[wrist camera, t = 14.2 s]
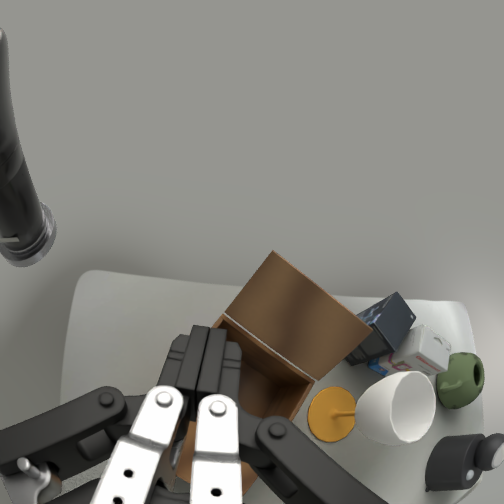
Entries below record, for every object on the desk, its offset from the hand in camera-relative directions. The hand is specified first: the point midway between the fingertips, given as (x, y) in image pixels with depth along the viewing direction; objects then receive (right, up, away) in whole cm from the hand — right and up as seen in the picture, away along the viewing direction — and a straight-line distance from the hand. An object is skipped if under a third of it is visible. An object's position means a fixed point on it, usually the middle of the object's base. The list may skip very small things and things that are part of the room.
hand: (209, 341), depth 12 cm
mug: (+43, -25, +32) cm, 59 cm away
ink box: (+26, -16, +30) cm, 43 cm away
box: (+19, -11, +31) cm, 38 cm away
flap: (+6, -3, +15) cm, 16 cm away
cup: (+14, -20, +23) cm, 34 cm away
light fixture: (+42, -41, +21) cm, 62 cm away
